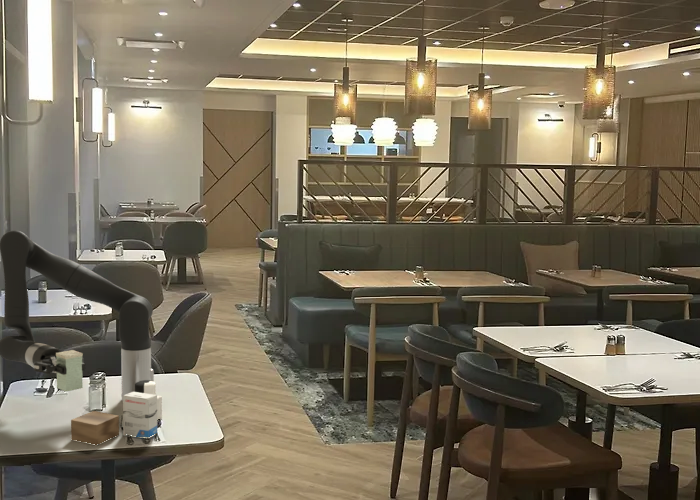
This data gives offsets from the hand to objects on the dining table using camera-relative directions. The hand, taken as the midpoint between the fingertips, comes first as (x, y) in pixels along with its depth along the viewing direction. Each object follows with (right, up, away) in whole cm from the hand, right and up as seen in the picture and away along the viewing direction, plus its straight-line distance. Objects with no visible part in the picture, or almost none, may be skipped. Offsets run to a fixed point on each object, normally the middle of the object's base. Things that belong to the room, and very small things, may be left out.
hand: (74, 369), depth 222 cm
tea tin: (-2, -6, +2) cm, 7 cm away
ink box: (+18, -19, +3) cm, 26 cm away
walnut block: (+6, -19, 0) cm, 20 cm away
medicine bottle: (+16, -18, +15) cm, 28 cm away
